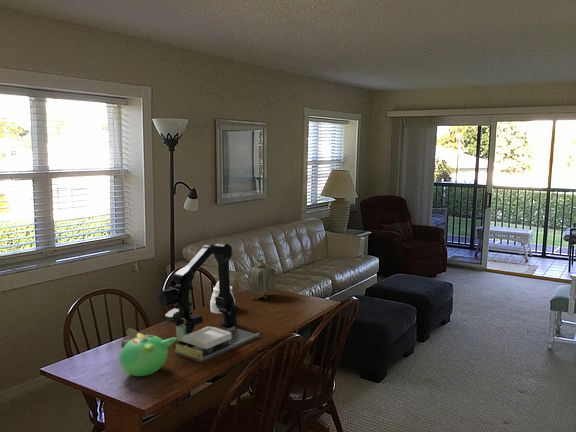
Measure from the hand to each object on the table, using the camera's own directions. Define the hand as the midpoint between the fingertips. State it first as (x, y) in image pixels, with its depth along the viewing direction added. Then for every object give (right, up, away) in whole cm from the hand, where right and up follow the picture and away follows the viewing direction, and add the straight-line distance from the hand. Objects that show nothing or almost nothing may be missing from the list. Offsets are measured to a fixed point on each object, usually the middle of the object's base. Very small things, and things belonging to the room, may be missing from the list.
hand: (184, 336), depth 214 cm
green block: (0, -1, 0) cm, 1 cm away
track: (+16, -3, -4) cm, 16 cm away
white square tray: (+12, -2, -9) cm, 15 cm away
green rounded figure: (-8, -7, -30) cm, 32 cm away
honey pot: (+11, +3, +44) cm, 45 cm away
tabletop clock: (+31, +6, +64) cm, 71 cm away
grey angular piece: (-20, -4, -8) cm, 22 cm away
